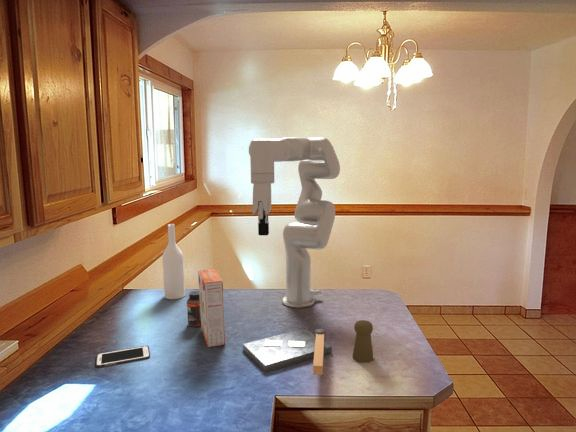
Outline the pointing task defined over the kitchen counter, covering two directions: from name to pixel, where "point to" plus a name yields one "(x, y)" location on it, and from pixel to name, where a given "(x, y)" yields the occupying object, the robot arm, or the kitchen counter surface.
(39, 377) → the kitchen counter surface
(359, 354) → the cork
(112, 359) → the cell phone
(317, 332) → the wooden bar
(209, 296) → the cracker box
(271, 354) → the plate
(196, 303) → the supplement bottle
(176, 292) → the bottle
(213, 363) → the kitchen counter surface
